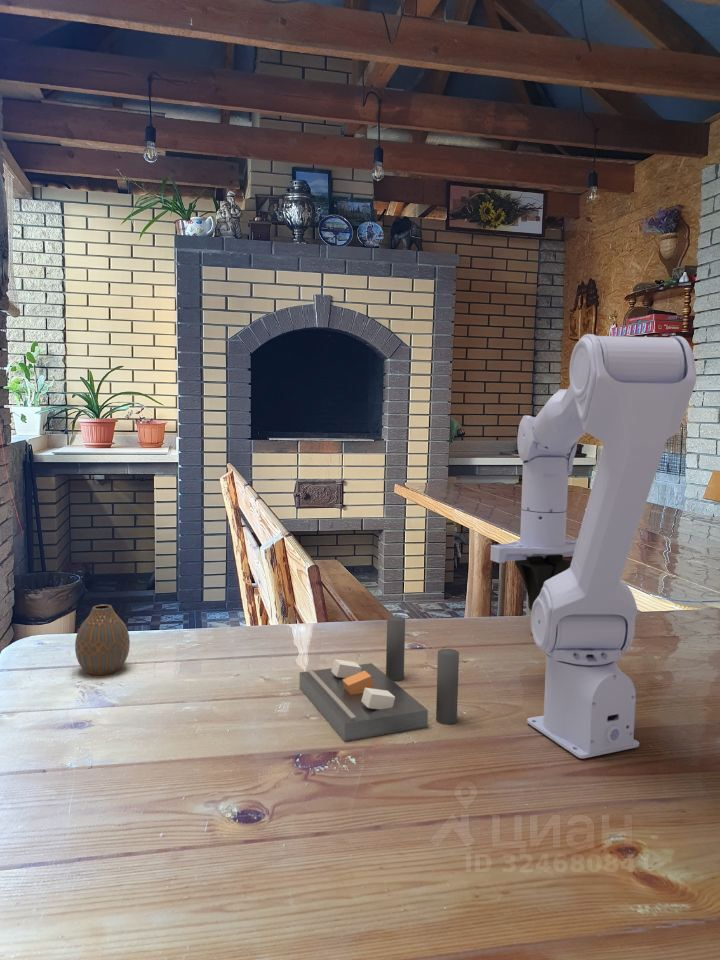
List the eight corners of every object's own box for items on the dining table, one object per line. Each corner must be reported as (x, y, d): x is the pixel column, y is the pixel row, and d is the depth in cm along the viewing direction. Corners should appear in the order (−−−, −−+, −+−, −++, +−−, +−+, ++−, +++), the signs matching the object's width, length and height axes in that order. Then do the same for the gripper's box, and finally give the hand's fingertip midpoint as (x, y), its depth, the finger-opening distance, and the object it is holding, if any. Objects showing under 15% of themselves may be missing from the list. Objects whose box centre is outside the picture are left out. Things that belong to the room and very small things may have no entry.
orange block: (374, 688, 84) (371, 676, 84) (351, 697, 83) (348, 685, 83) (367, 682, 86) (364, 670, 86) (345, 691, 85) (342, 679, 85)
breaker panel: (427, 727, 79) (428, 707, 79) (344, 741, 76) (344, 720, 75) (371, 677, 94) (371, 660, 94) (299, 687, 90) (299, 670, 90)
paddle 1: (358, 679, 89) (361, 667, 89) (336, 676, 88) (339, 664, 88) (352, 674, 91) (355, 662, 91) (331, 671, 90) (334, 659, 90)
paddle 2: (391, 710, 80) (395, 697, 80) (368, 708, 78) (371, 694, 79) (384, 704, 82) (387, 690, 82) (361, 701, 80) (364, 687, 80)
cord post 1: (406, 679, 94) (408, 620, 93) (390, 681, 93) (391, 622, 92) (399, 673, 96) (400, 615, 95) (382, 675, 95) (384, 617, 94)
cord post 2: (460, 722, 81) (462, 654, 80) (442, 725, 80) (444, 656, 79) (450, 714, 83) (452, 647, 82) (432, 717, 82) (434, 650, 81)
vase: (138, 662, 98) (137, 601, 98) (116, 681, 92) (115, 614, 91) (90, 660, 99) (89, 598, 98) (65, 678, 92) (64, 612, 91)
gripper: (569, 504, 98) (564, 600, 99) (478, 508, 92) (475, 609, 93) (604, 511, 91) (599, 613, 92) (510, 515, 86) (506, 624, 87)
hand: (539, 612), depth 93 cm, fingers closed
